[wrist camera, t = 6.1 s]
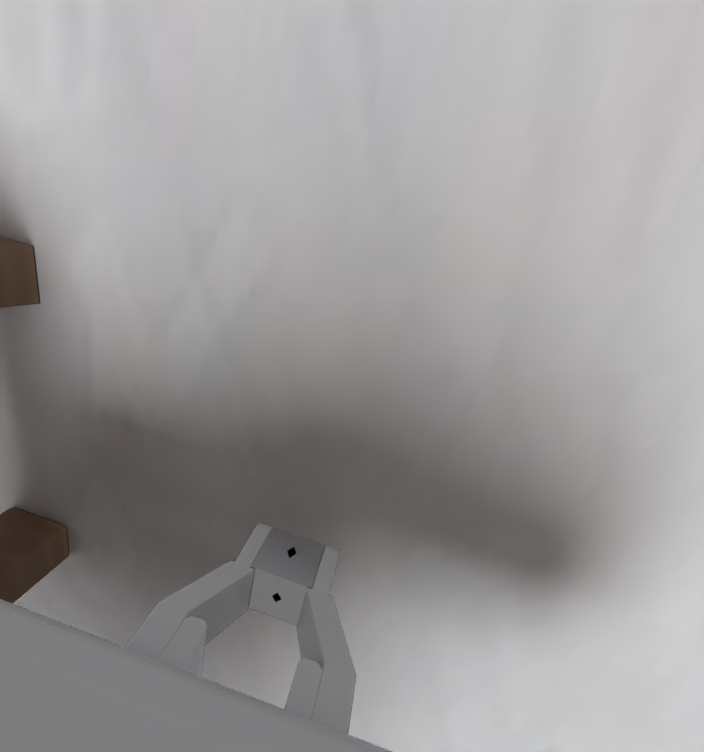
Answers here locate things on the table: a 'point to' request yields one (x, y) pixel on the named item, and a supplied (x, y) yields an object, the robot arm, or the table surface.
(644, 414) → the table surface
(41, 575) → the bridge
